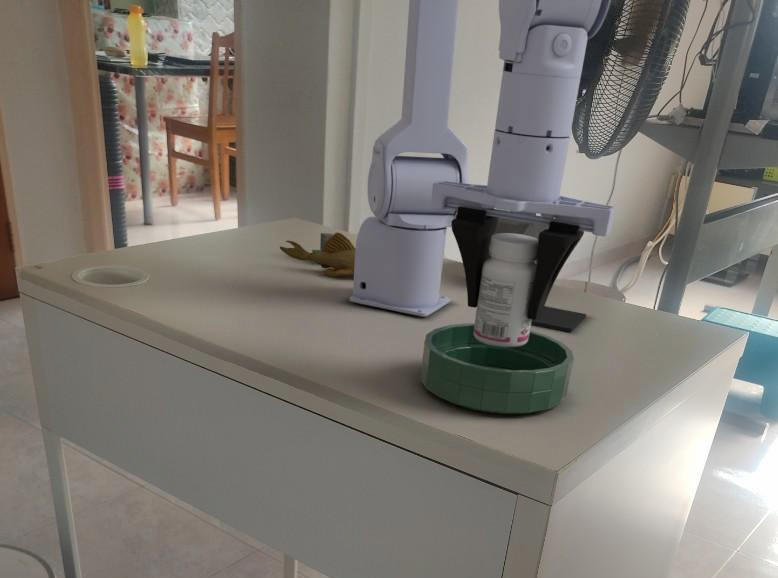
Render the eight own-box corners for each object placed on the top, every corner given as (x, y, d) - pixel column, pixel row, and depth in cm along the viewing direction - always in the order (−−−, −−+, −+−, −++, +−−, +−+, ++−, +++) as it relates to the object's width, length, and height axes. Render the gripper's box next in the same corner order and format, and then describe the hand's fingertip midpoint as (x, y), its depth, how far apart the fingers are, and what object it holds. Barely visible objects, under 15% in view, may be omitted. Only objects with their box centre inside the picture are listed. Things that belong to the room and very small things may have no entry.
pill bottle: (510, 329, 75) (526, 231, 70) (537, 347, 71) (556, 244, 67) (463, 331, 73) (476, 231, 69) (488, 350, 69) (504, 245, 65)
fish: (378, 288, 102) (383, 247, 100) (272, 266, 104) (274, 225, 101) (386, 277, 106) (392, 237, 104) (284, 256, 108) (287, 216, 105)
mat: (504, 319, 94) (505, 315, 93) (522, 305, 99) (523, 301, 99) (571, 332, 91) (571, 328, 91) (585, 317, 97) (586, 314, 96)
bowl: (397, 395, 71) (401, 350, 69) (450, 355, 81) (455, 314, 79) (542, 431, 67) (551, 384, 65) (579, 384, 77) (588, 342, 75)
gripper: (424, 124, 63) (407, 304, 70) (616, 149, 58) (577, 339, 65) (457, 120, 68) (438, 287, 75) (634, 142, 64) (596, 318, 71)
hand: (504, 310), depth 71 cm, fingers closed on pill bottle, 5 cm apart
